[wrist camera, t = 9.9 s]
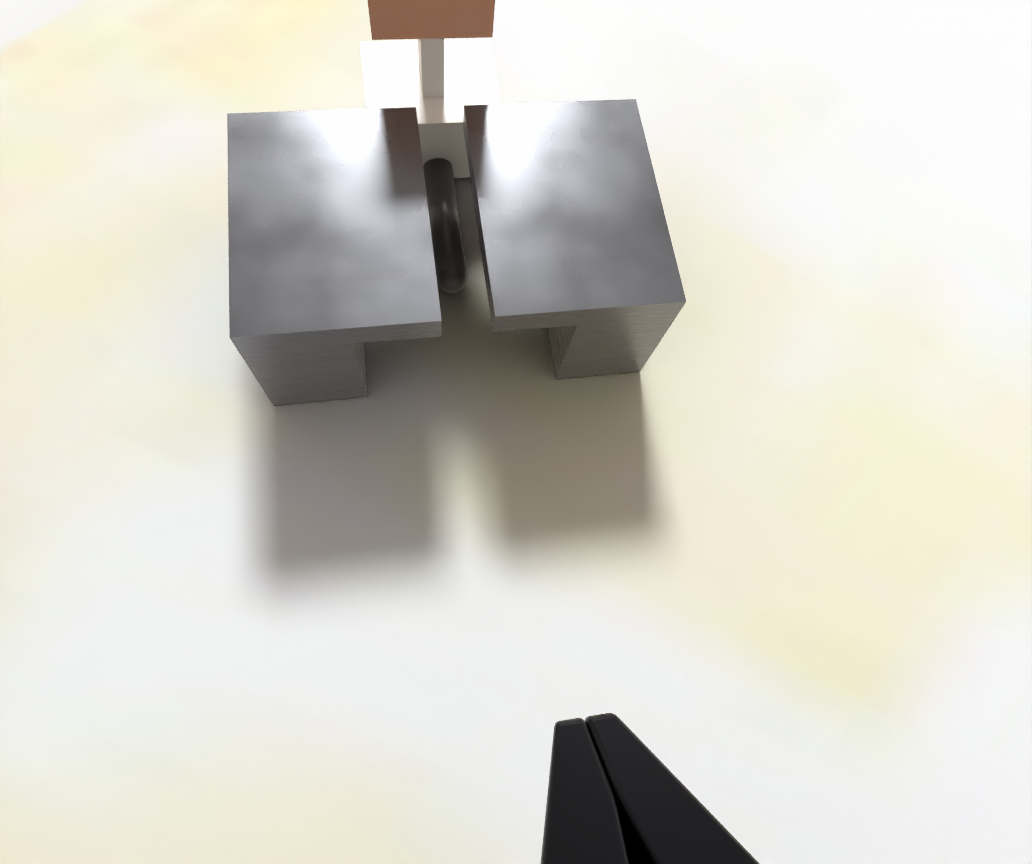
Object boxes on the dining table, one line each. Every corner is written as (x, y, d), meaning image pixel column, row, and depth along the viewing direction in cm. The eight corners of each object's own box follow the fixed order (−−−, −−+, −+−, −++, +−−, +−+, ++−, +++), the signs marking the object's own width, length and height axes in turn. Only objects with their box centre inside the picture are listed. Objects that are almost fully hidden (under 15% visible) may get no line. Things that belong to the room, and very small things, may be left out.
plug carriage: (517, 294, 26) (562, 62, 16) (387, 303, 26) (349, 68, 16) (485, 99, 29) (507, -198, 19) (368, 103, 29) (327, -203, 19)
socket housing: (640, 371, 26) (686, 301, 21) (274, 405, 24) (229, 337, 19) (602, 198, 29) (635, 99, 24) (267, 216, 27) (227, 113, 22)
